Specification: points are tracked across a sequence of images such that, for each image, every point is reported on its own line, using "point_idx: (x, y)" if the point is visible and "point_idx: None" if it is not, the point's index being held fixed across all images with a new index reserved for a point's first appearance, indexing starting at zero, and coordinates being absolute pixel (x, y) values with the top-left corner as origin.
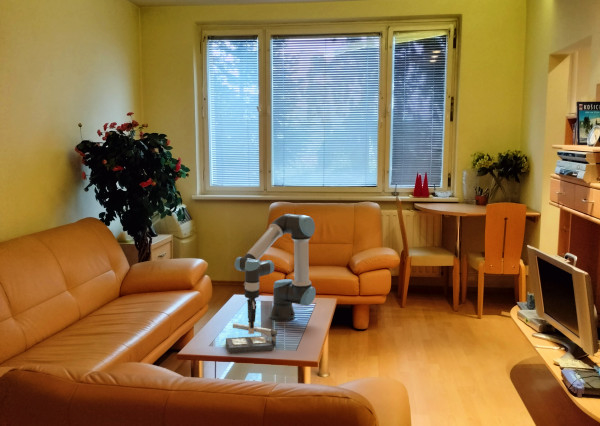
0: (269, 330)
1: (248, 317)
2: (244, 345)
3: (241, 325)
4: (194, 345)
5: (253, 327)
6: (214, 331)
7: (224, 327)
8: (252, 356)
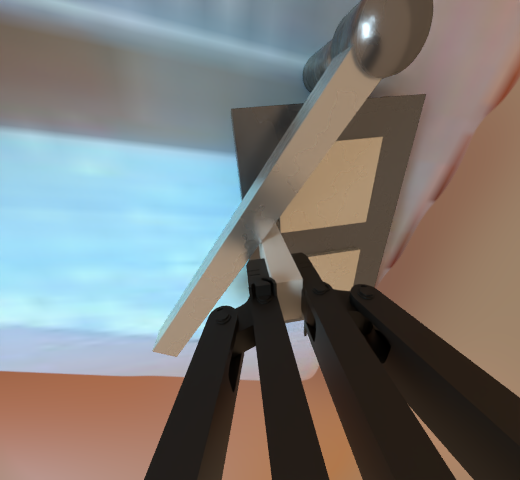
0: (368, 95)
1: (244, 350)
2: (365, 260)
3: (201, 316)
4: (255, 374)
5: (285, 249)
6: (101, 350)
7: (23, 326)
8: (411, 215)
